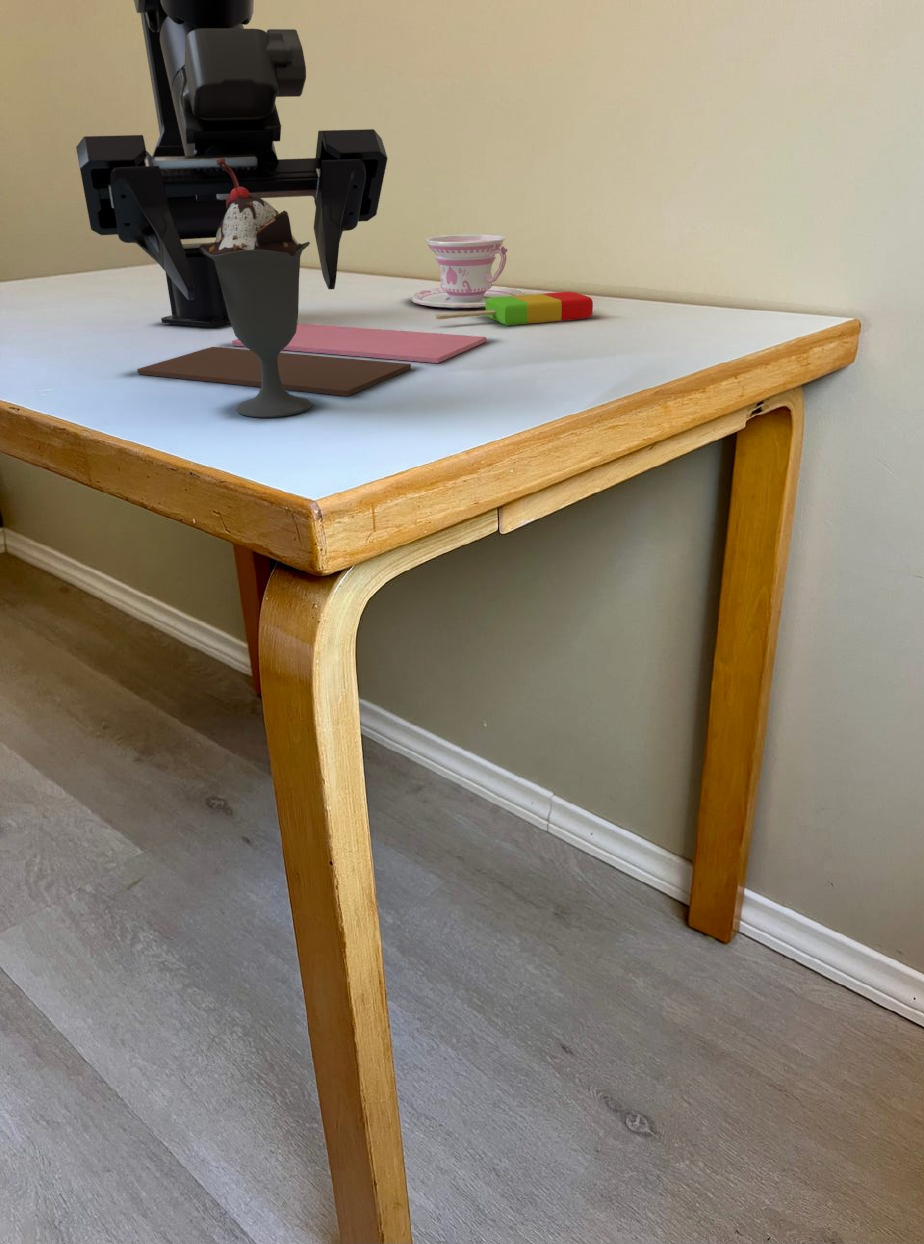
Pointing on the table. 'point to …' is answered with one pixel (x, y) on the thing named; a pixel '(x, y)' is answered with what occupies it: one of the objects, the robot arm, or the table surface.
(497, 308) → the popsicle
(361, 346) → the pink mat
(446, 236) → the teacup
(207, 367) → the brown mat
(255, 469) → the table surface
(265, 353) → the sundae
